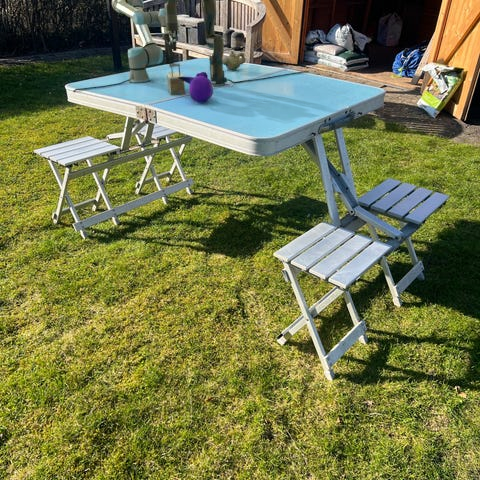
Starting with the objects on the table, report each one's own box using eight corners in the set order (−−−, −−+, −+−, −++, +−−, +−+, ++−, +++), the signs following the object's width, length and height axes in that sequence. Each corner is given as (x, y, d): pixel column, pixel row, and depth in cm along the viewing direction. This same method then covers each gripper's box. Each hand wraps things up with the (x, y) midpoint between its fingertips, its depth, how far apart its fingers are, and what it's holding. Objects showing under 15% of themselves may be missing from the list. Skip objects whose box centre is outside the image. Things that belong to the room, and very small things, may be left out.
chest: (184, 94, 299) (183, 77, 293) (171, 95, 297) (169, 78, 292) (181, 89, 312) (180, 73, 307) (168, 90, 311) (166, 74, 305)
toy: (201, 94, 296) (213, 108, 275) (175, 89, 289) (185, 104, 268) (206, 69, 288) (219, 82, 267) (180, 64, 281) (191, 77, 260)
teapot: (225, 72, 363) (224, 52, 355) (218, 70, 371) (218, 50, 364) (248, 69, 372) (247, 50, 364) (241, 67, 381) (240, 48, 373)
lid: (183, 77, 293) (182, 63, 289) (169, 78, 291) (168, 64, 287) (180, 73, 307) (179, 59, 303) (166, 74, 305) (165, 60, 301)
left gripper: (175, 34, 304) (178, 67, 315) (169, 31, 324) (172, 62, 335) (164, 35, 302) (167, 68, 313) (159, 32, 323) (162, 63, 333)
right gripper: (179, 22, 272) (181, 51, 280) (176, 20, 284) (178, 48, 292) (166, 23, 271) (169, 52, 279) (164, 21, 283) (166, 49, 291)
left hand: (170, 65), depth 324 cm, fingers open, 13 cm apart
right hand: (173, 50), depth 286 cm, fingers open, 8 cm apart
